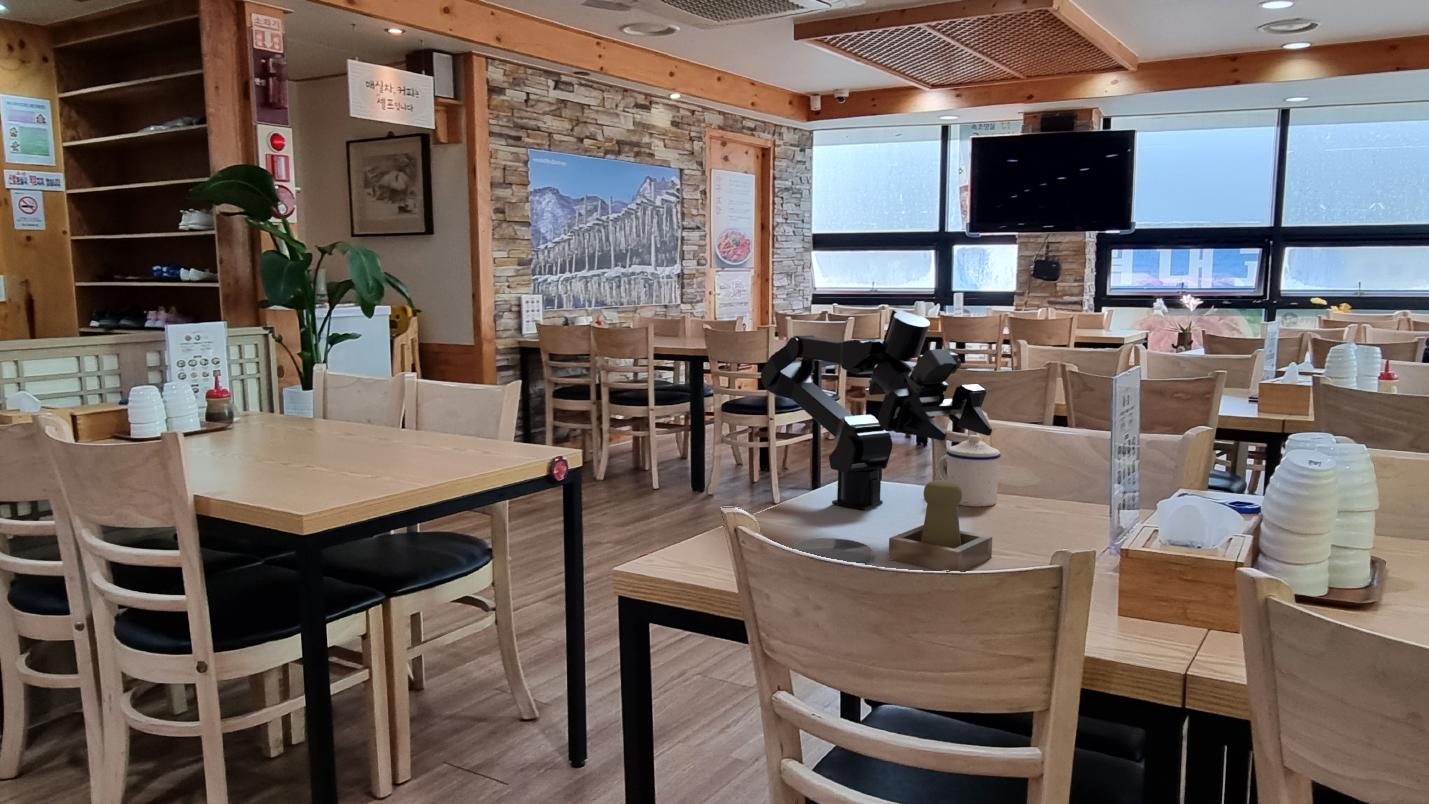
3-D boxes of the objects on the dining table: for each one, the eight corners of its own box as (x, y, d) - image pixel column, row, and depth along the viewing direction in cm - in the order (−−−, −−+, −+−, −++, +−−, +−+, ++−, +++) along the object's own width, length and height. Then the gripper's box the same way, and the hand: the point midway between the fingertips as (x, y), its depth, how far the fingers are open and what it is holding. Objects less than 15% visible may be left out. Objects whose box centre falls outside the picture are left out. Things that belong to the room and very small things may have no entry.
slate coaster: (777, 556, 140) (777, 549, 140) (821, 540, 149) (821, 534, 149) (844, 572, 133) (844, 564, 133) (886, 554, 142) (886, 547, 142)
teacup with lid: (1009, 502, 175) (1012, 436, 173) (975, 510, 169) (978, 441, 168) (954, 490, 184) (957, 427, 182) (920, 496, 178) (923, 432, 177)
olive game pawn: (963, 566, 137) (966, 487, 135) (918, 563, 138) (921, 484, 136) (961, 554, 143) (965, 477, 141) (918, 551, 144) (921, 475, 142)
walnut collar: (888, 559, 140) (889, 538, 139) (924, 544, 147) (925, 524, 147) (957, 574, 133) (958, 552, 133) (991, 557, 141) (992, 536, 140)
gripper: (872, 340, 151) (937, 391, 140) (963, 337, 161) (1031, 384, 149) (852, 404, 157) (913, 458, 145) (942, 397, 166) (1006, 447, 155)
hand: (968, 435), depth 148 cm, fingers open, 9 cm apart
